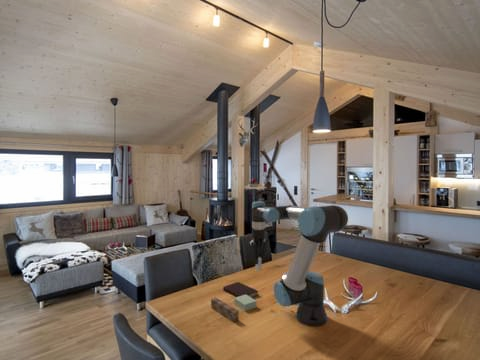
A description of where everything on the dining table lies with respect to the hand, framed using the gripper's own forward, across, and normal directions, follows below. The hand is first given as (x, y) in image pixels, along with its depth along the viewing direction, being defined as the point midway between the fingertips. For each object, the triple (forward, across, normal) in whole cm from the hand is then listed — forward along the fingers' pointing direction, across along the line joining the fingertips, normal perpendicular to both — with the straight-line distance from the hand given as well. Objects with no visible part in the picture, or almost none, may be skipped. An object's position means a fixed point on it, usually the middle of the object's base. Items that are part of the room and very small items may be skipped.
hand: (258, 269), depth 169 cm
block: (+19, +10, 0) cm, 21 cm away
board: (+18, +24, 0) cm, 31 cm away
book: (+19, +1, -15) cm, 24 cm away
